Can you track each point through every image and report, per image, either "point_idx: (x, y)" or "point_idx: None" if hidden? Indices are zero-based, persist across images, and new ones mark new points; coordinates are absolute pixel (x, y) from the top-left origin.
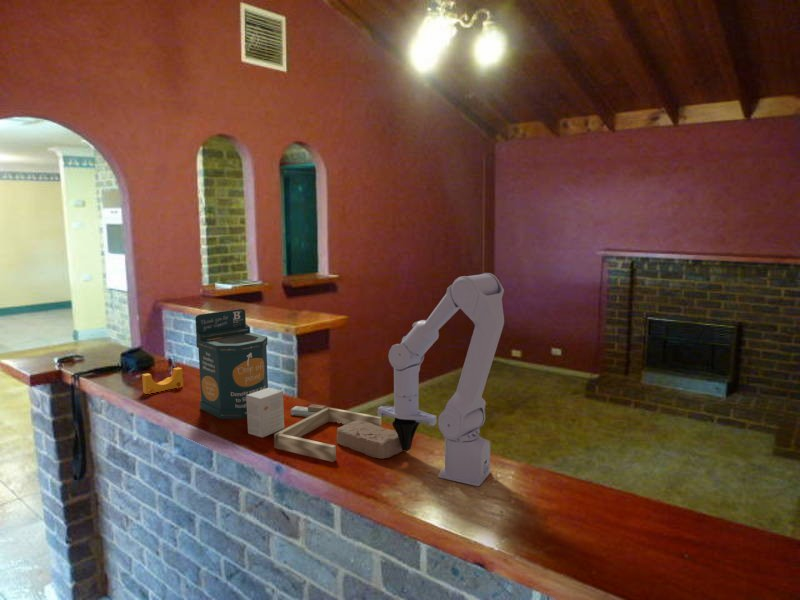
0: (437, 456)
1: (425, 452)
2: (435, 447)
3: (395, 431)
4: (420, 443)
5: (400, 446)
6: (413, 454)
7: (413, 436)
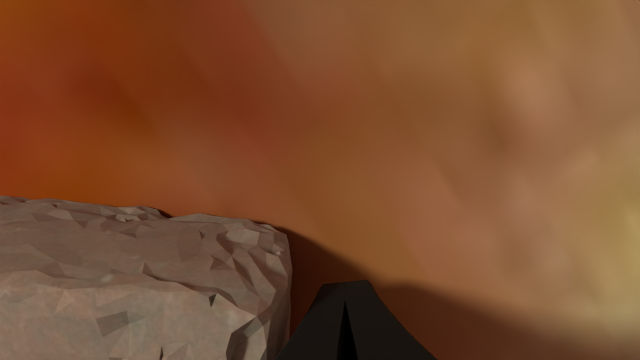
0: (579, 172)
1: (450, 161)
2: (477, 9)
3: (111, 314)
4: (304, 13)
5: (286, 327)
6: (385, 247)
7: (410, 336)
